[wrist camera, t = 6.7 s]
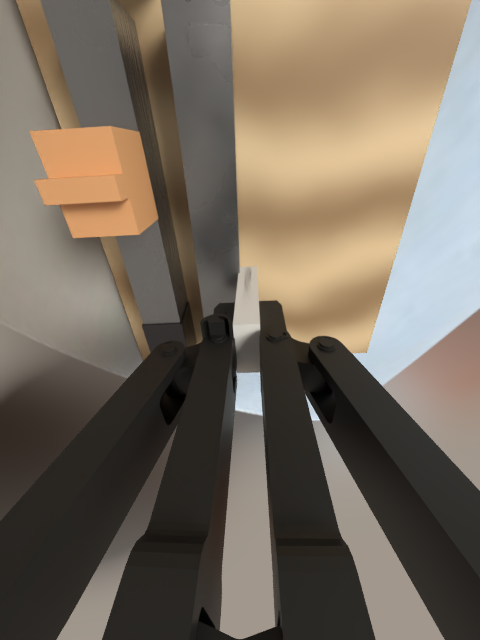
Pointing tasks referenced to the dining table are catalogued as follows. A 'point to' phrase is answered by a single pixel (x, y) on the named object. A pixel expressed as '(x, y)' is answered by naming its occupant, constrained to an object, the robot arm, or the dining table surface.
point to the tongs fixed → (136, 114)
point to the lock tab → (97, 180)
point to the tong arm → (207, 138)
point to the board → (301, 146)
